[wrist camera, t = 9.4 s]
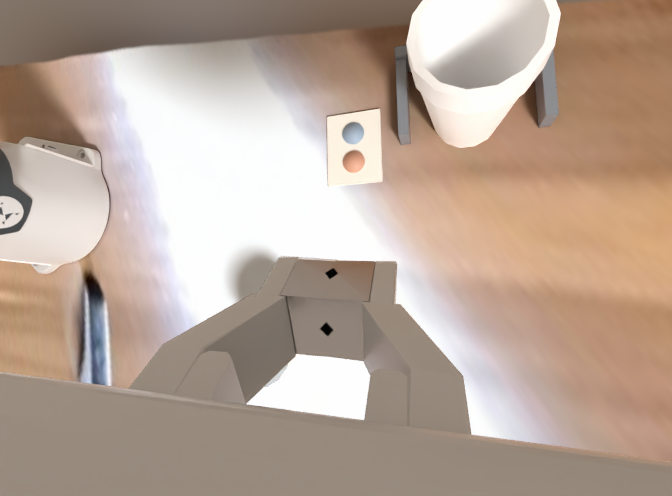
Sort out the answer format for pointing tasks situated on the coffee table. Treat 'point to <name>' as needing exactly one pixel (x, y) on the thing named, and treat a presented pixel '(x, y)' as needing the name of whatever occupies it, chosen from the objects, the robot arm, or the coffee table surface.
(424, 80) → the foam cup
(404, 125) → the grey cup holder
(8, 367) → the coffee table surface
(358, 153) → the card
